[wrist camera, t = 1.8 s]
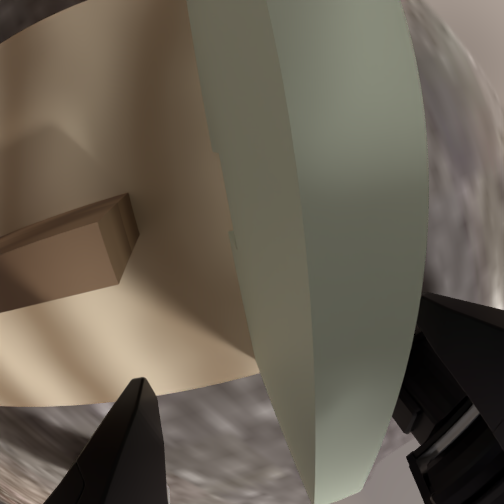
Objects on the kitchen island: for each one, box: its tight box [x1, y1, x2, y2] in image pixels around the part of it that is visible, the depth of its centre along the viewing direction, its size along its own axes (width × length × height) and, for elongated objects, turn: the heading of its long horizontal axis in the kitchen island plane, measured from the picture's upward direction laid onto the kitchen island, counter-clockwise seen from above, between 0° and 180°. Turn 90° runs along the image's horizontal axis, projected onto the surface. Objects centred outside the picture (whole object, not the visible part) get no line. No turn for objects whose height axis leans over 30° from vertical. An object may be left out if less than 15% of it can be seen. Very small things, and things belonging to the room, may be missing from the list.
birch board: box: [0, 0, 260, 407], centre depth 10 cm, size 24×18×1 cm
